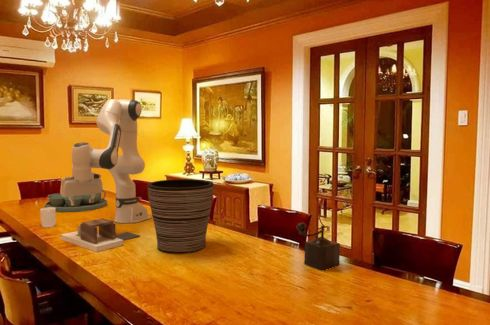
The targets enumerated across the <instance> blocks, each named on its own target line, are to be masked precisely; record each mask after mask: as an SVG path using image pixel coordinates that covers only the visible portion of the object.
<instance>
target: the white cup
mask: <svg viewBox="0 0 490 325" xmlns="http://www.w3.org/2000/svg"><path fill="white" fill-rule="evenodd" d="M39 209H40V210H39V213H40V222H41V227H42V228H53V227H55V226H56V216H57V215H56V213H57V212H56V208H54V207H47V208H45V207H42V208H39Z"/></svg>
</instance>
